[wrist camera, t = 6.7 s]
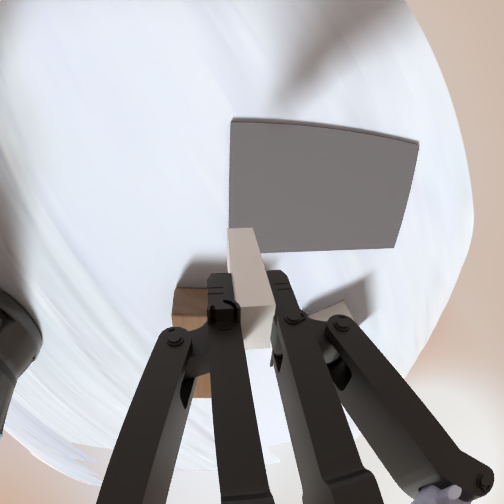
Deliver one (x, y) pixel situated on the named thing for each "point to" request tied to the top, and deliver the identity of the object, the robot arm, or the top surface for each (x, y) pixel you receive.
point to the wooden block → (192, 324)
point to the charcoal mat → (318, 186)
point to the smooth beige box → (332, 312)
